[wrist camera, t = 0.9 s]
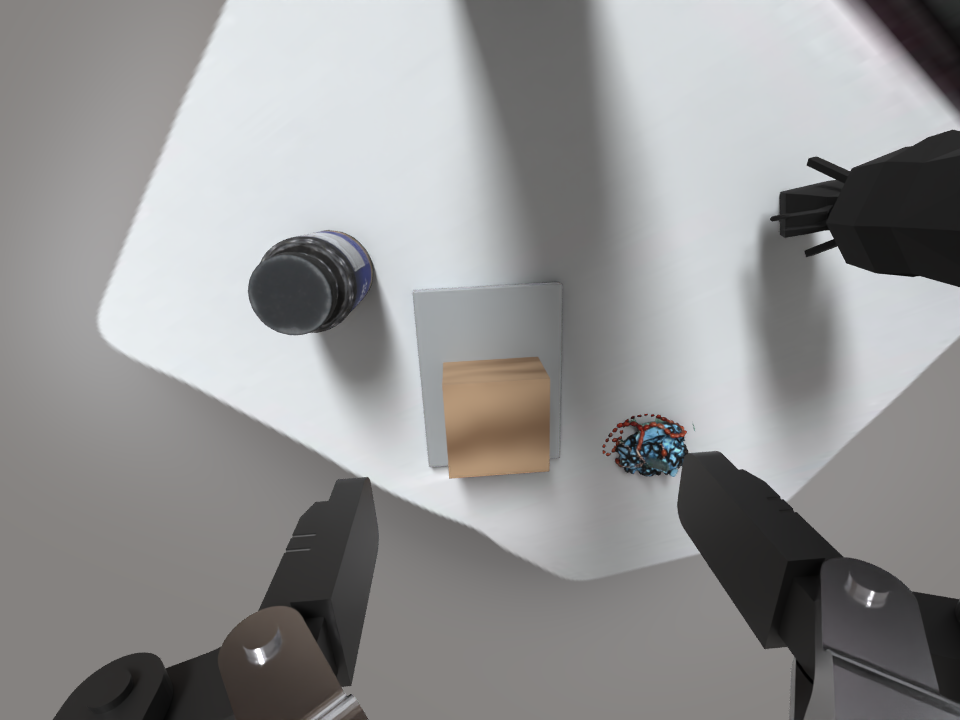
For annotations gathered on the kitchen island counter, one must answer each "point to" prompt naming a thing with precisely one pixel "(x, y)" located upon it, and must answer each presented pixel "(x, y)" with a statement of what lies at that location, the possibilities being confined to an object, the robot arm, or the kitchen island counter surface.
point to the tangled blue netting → (651, 447)
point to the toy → (887, 210)
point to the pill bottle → (310, 282)
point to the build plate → (486, 342)
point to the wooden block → (496, 416)
